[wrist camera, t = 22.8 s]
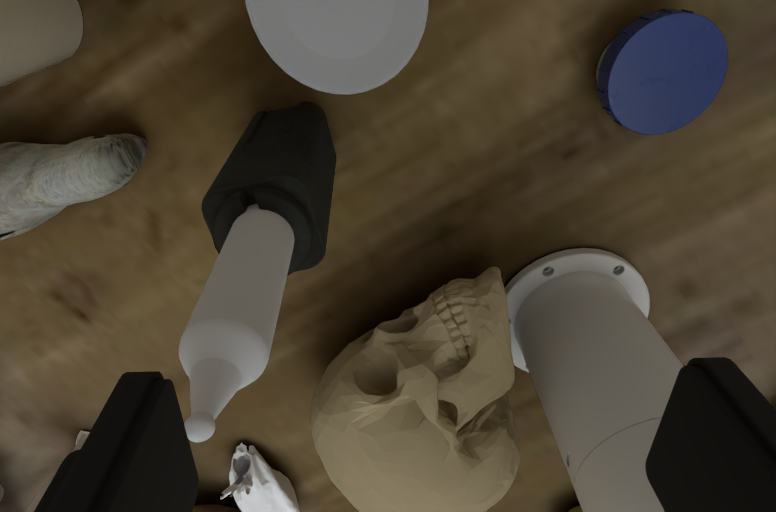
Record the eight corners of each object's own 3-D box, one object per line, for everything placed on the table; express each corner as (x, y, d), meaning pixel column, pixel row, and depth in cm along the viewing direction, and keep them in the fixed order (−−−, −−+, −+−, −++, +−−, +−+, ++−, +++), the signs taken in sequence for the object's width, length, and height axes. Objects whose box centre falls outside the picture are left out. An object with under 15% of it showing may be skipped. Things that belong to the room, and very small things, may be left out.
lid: (735, 22, 31) (753, 26, 30) (677, 137, 34) (691, 146, 33) (626, -5, 30) (639, -2, 29) (578, 116, 33) (588, 123, 32)
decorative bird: (168, 175, 37) (127, 224, 31) (-38, 231, 39) (-119, 289, 32) (129, 99, 34) (75, 135, 28) (-91, 162, 36) (-190, 210, 30)
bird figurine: (273, 506, 46) (312, 535, 53) (266, 433, 50) (302, 469, 58) (219, 525, 46) (265, 551, 53) (217, 450, 50) (259, 484, 58)
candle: (269, 185, 38) (148, 509, 16) (245, 114, 35) (61, 389, 14) (340, 170, 37) (310, 481, 16) (320, 98, 35) (253, 352, 13)
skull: (495, 305, 29) (241, 465, 35) (654, 499, 33) (403, 611, 40) (477, 220, 41) (292, 350, 48) (594, 370, 46) (411, 471, 52)
